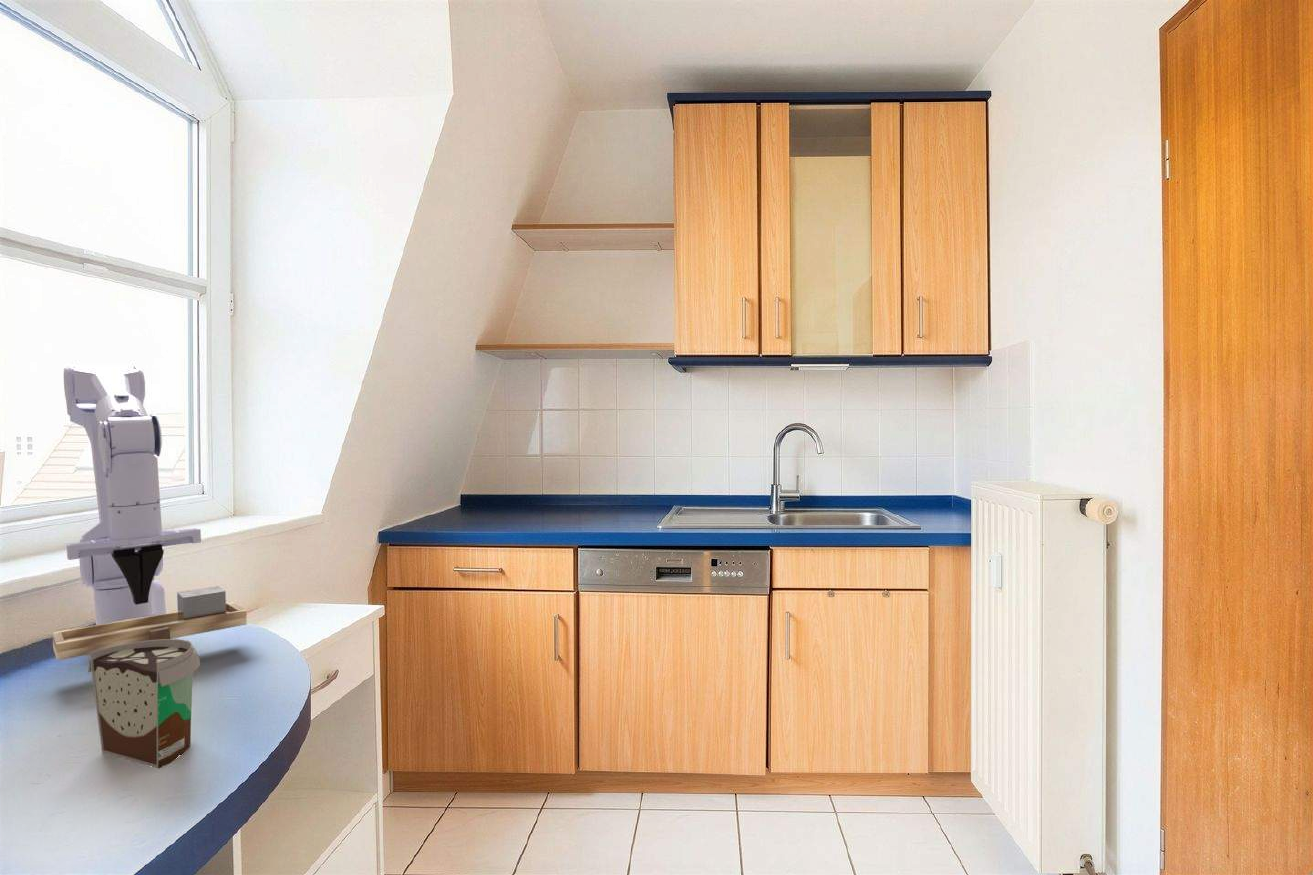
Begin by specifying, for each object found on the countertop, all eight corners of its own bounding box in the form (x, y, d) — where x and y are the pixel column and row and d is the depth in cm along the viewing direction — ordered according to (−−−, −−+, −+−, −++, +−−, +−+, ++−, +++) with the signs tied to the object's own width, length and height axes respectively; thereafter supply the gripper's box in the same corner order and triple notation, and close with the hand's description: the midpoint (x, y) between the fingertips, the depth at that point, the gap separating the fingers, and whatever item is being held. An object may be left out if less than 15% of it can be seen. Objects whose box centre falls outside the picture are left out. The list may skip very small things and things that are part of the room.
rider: (183, 626, 93) (183, 597, 93) (177, 620, 97) (177, 592, 97) (226, 619, 97) (225, 591, 97) (219, 613, 100) (218, 586, 100)
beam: (57, 664, 83) (56, 644, 83) (53, 650, 89) (52, 632, 89) (246, 627, 97) (246, 610, 97) (233, 618, 103) (232, 601, 103)
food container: (233, 741, 69) (226, 643, 68) (167, 771, 63) (160, 664, 63) (159, 724, 74) (153, 632, 74) (93, 750, 68) (86, 651, 68)
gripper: (67, 513, 85) (74, 620, 86) (203, 499, 95) (209, 595, 96) (62, 509, 90) (69, 610, 91) (192, 497, 101) (198, 588, 101)
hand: (140, 602), depth 94 cm, fingers closed
